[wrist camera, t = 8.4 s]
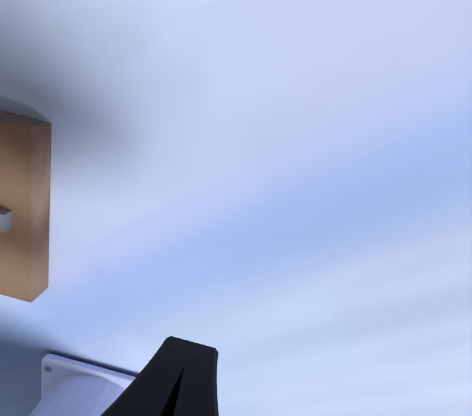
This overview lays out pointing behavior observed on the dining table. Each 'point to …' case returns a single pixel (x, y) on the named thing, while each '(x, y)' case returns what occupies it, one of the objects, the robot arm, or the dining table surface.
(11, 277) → the flat brown board
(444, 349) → the dining table surface
